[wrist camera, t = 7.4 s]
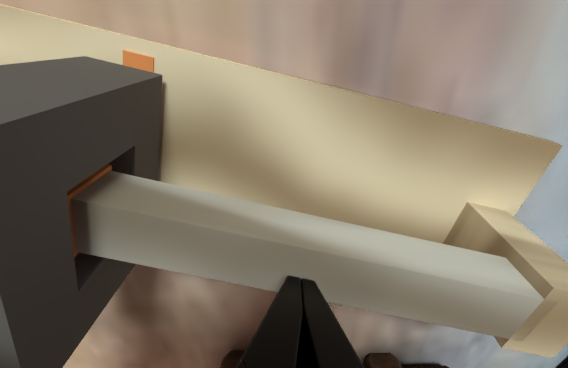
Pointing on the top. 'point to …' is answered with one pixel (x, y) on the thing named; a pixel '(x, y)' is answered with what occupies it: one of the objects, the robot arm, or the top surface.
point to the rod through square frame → (318, 192)
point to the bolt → (376, 364)
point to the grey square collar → (63, 194)
